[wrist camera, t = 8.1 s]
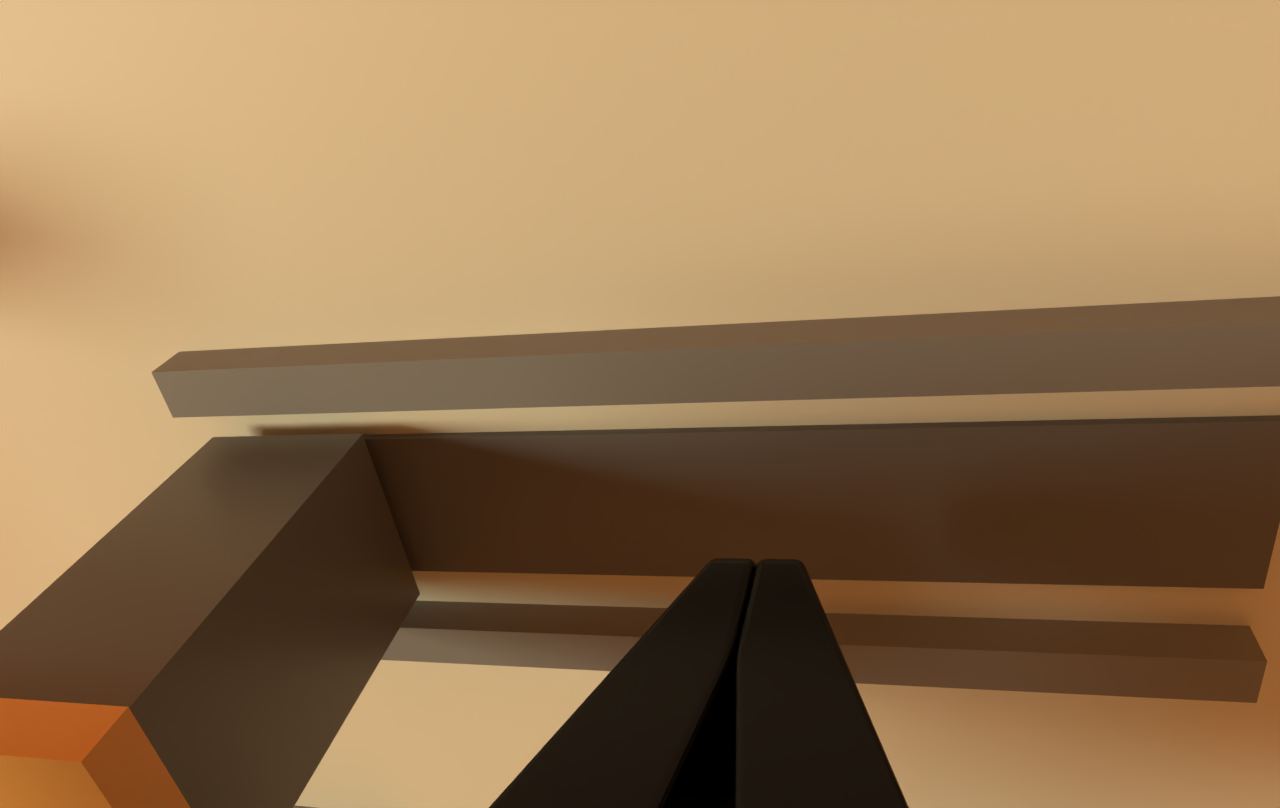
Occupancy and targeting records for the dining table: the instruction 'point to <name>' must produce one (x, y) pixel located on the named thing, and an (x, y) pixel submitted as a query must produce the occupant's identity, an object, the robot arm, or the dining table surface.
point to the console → (693, 349)
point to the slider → (208, 635)
